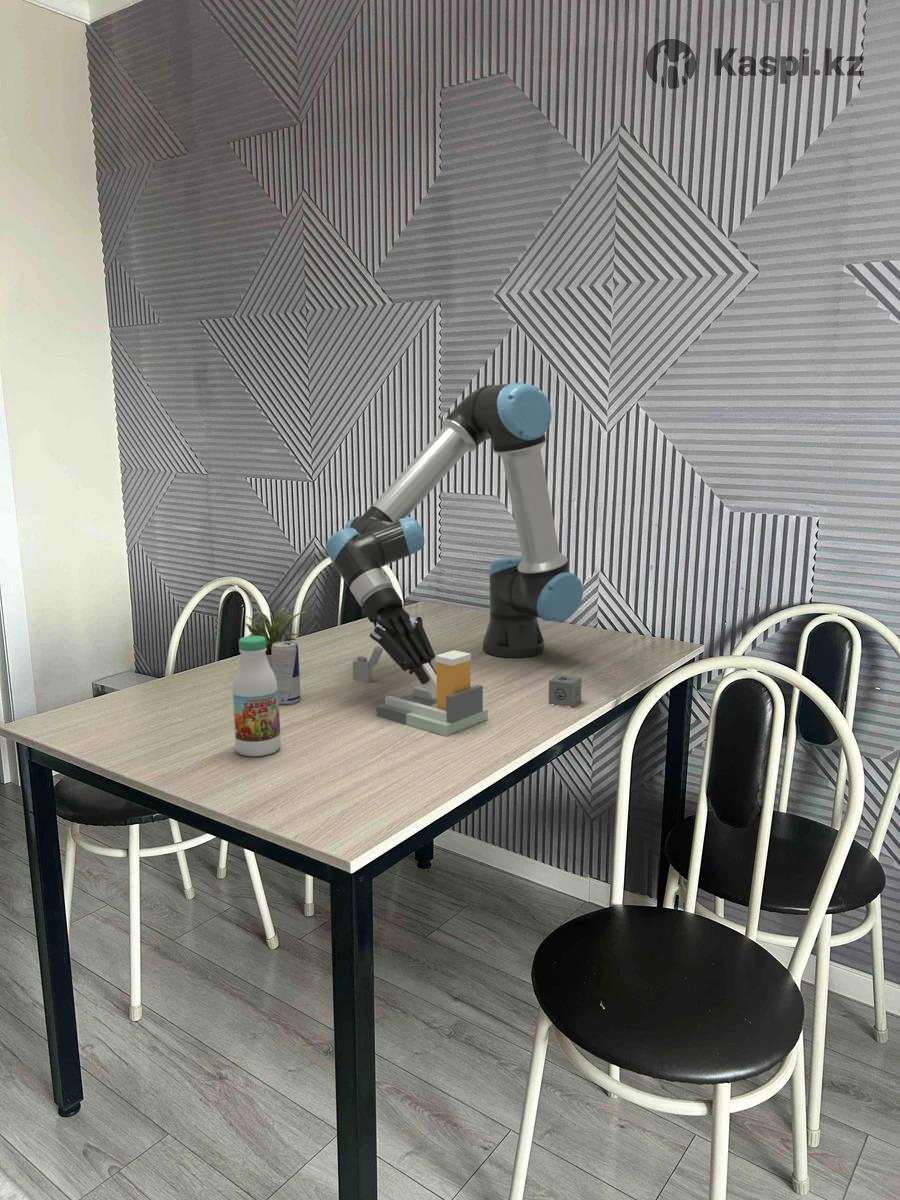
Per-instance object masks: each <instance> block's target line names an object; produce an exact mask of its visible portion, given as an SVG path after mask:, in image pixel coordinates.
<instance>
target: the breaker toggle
mask: <svg viewBox="0 0 900 1200" xmlns="http://www.w3.org/2000/svg"><path fill="white" fill-rule="evenodd" d="M471 660H472V654H471V653H469V652H463V651H460V650H459V651H458V650H455V649H453V650H450V651H447V652H444V653H439V654H435V663H436V664H435V667H436V669H435V671H436V676H437V709H441V710H445V711H446V696H447V695H450V694H453V693H456V692H459V691H461V690H464V689H467V688H470V687H471Z"/></svg>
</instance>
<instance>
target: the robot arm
mask: <svg viewBox="0 0 900 1200" xmlns="http://www.w3.org/2000/svg"><path fill="white" fill-rule="evenodd" d="M551 421H552V407H551V403H550V401H549V399H548V397H547V395H546V394H545V393H544V391H542V390H541V389H540V388H538V387H537V386H535V385H533V384H529V383H522V382H521V383H520V382H511V383H504V384H503V383H501V384H489V385H484V386H482V387H480V388H477V389H475V390H474V391H472V392H471V393H470V394H469V395H467V396H466V397H465V398H464V399H462V401H460V402H459V404H458V405H457V406H455V408H453V410H452V411H451V412H449V414H448V415H447V416H446V417H445V418H444V420H443V421H442V423H441V429H440V430H439V432H438V433H437V434H436V435H435V436H434V437H433V438H432V439H431V440H430V442H429V443H428V444H427V445H426V446H425V447H424V448H423V449H422V450H421V451H420V452H419V453H418V454H417V456H416V457H415V458H414V459H413V460H412V461H410V463H409V464H408V465H407V467H405V469H404V470H403V471H402V472H401V473H400V474H399V476H398V477H397V478H395V480H394V481H393V482H392V483H391V484H390V485H389V486H388V487H387V489H385V491H384V492H383V493H382V494H381V495H380V496H379V497H377V499H376V501H375V502H373V504H371V506H370V507H369V508H368V509H367V510H366V511H365V512H364V513H363V514H362V515H358V516H357V515H356V516H354V517H352V518H350V519H349V520H348V521H347V523H346V524H345V526H344V527H343V529H340V530H338V531H336V532H335V533H333V534H332V535H331V536H330V537H329V538H328V540H327V541H326V545H325V551H326V553H327V555H328V557H329V559H330V560H331V563H332V564H333V566H334V568H335V569H336V570H337V572H338V573H339V575H340V576H341V578H342V579H343V581H344V582H345V584H346V585H347V587H348V588H349V590H350V592H351V593H352V595H353V597H354V598H355V600H356V601H357V603H358V605H359V606H360V607H361V609H362V611H363V613H364V614H365V616H366V618H367V619H368V621H369V622H370V623H371V624H372V623H373V625H374V629H373V630H372V631H371V632H370V633H369V638H370V639H372V640H374V641H375V642H376V643H378V644H379V646H381V648H382V649H383V651H385V652H386V653H387V654H388V655H389V656H390V658H392V660H393V661H394V662H395V663H396V664H397V665H398V667H400V669H401V670H402V671H404V672H407V670H408V674H410V675H413V674H414V675H415V676H416V678H417V679H418V680H419V682H420V684H422V685H423V686H424V687H425V689H427V690H428V692H429V693H430V695H431V697H432V698H433V700H435V699H437V676H436V669H435V668H434V666H433V665H432V661H433V660H434V659H436V657H435V656H436V654H435V651H434V649H433V647H432V645H431V643H430V640H429V638H428V636H427V633H426V631H425V627H424V625H423V618H422V617H421V616H417V617H416V618H414V617H411V616H410V614H409V613H408V612H407V611H406V610H405V609H404V608H403V600H402V598H401V597H400V595H399V594H398V592H397V590H396V589H395V588H394V587H393V585H392V582H391V581H390V580H389V578H388V577H387V575H386V573H385V572H384V570H383V569H382V568H383V567H385V566H387V565H390V564H392V563H395V562H397V561H400V560H401V559H405V558H406V557H410V556H412V555H413V554H415V553H417V552H419V551H421V550H422V549H423V548H424V546H425V535H424V532H423V528H422V527H421V525H420V523H419V522H418V521H417V520H416V519H415V518H414V517H412V516H410V515H411V513H413V511H414V510H415V509H416V508H417V507H418V506H419V505H420V504H421V502H423V501H424V499H425V498H426V497H427V496H428V494H430V493H431V491H432V490H433V489H434V488H435V487H436V486H437V485H438V484H439V483H440V481H441V480H442V479H443V478H444V477H445V476H447V474H448V473H449V472H450V471H451V469H452V468H453V467H454V466H455V465H457V464H458V462H459V460H461V458H463V457H464V455H465V454H466V453H467V452H468V453H469V452H474V451H475V450H476V449H477V447H478V446H480V445H481V444H482V443H484V442H485V441H487V440H491V444H492V448H493V452H494V453H495V454H496V455H497V456H499V457H501V459H502V463H503V468H504V473H505V478H506V483H507V488H508V493H509V498H510V504H511V509H512V515H513V518H514V524H515V528H516V535H517V538H518V539H517V540H518V544H519V549H520V555H521V557H511V558H501V559H500V558H499V559H495V560H493V561H491V563H490V567H489V575H488V577H489V621H488V625H487V627H486V632H485V634H484V637H483V641H482V651H483V652H484V653H486V654H488V655H490V656H495V657H502V658H529V657H535V656H538V655H540V654H543V652H544V651H545V639H544V637H543V633H542V630H541V628H540V624H539V619H541V620H542V621H546V622H550V621H551V622H564V621H566V620H568V619H569V618H571V617H572V616H573V615H574V614H575V613H576V612H577V611H578V607H580V605H581V604H582V601H583V595H584V588H583V583H582V581H581V579H580V578H579V577H578V576H577V575H576V574H574V573H573V572H571V571H570V566H569V560H568V557H567V556H566V555H565V554H564V553H561V552H560V547H559V543H558V536H557V532H556V527H555V525H556V524H555V521H554V517H553V510H552V505H551V500H550V493H549V489H548V482H547V477H546V473H545V471H546V470H545V467H544V461H543V456H542V451H541V450H542V448H543V447H544V445H545V444H546V442H547V439H546V432H548V429H549V425H550V424H551V423H552V422H551ZM538 618H539V619H538Z"/></svg>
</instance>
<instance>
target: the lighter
mask: <svg viewBox="0 0 900 1200" xmlns="http://www.w3.org/2000/svg"><path fill="white" fill-rule="evenodd" d="M383 651H384V649H383V647H382V646H381V647H380V645H378V646H375V647H374V648H373V651H372V653H371V655H370V657H369V659H368V657H367V656H362V655H359V656H357V657H356V659H353V660H352V680H353V681H357V680H358V682H364V681H366V682H365V683H370V682H373V667H376V666H377V665H378V664H379V661H380V658H381V656H382V654H383Z"/></svg>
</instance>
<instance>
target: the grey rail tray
mask: <svg viewBox="0 0 900 1200" xmlns="http://www.w3.org/2000/svg"><path fill="white" fill-rule="evenodd" d="M483 693H484V686H483V685H481V684H476V685H472V686H470V688H467V689H464V690H461V691H459V692H456V693H453V694H450V695H447V696H446V711H445V710H441V709H437V699H435V700H433V698H432V697H431V695H430V693H429V692H428V690H427V689H426V687H425V688H424V687H422V686H421V687H420V686H414V687H412V693H410V694H407V695H403V696H400V697H396V696H393V695H388V696H385V697H384V700H385V701H384V702H383V703H380V704H377V705H375V710H376V711H375V715H376V716H377V717H378V718H379V717H380V718H383V719H387V720H389V721H394V722H396V721H397V722H396V723H401V724H403V725H407V726H411V727H414V728H417V729H420V730H424V731H428V732H429V733H434V734H438V735H441V736H444V737H448V736H451V735H452V733H453V734H455V733H458V732H459V731H463V730H465V729H467V727H468V728H471V727H473V726H475V725H478V724H480V723H482V722H485V721H488V718H489V717H488V716H489V714H488V713H489V712H488V709H487V708H484V706H483V705H484V701H483V700H484V699H483V698H484V696H483ZM484 720H485V721H484ZM479 722H480V723H479ZM477 723H478V724H477ZM472 725H473V726H472ZM462 729H463V730H462ZM450 734H451V735H450Z"/></svg>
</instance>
